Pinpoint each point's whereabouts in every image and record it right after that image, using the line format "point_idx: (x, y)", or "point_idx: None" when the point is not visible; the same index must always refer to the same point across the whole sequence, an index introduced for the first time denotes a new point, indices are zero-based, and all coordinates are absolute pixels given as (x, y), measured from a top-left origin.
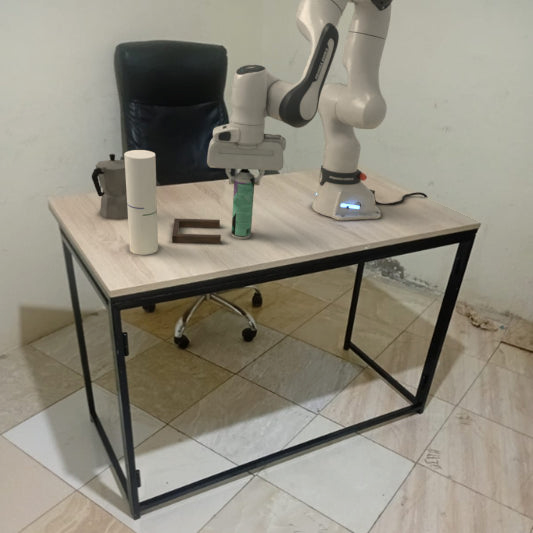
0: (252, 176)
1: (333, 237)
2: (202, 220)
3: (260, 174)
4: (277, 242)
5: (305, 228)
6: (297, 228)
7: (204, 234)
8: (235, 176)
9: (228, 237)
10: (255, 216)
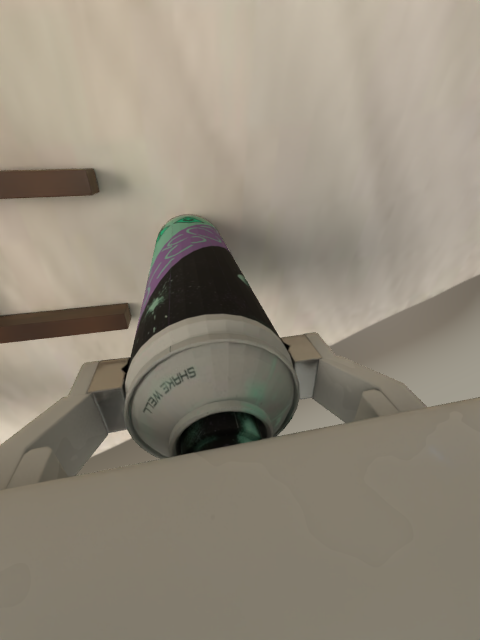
0: (281, 425)
1: (462, 227)
2: (4, 189)
3: (352, 418)
4: (297, 283)
5: (417, 160)
6: (391, 163)
7: (67, 320)
8: (137, 440)
9: (149, 270)
10: (253, 9)
